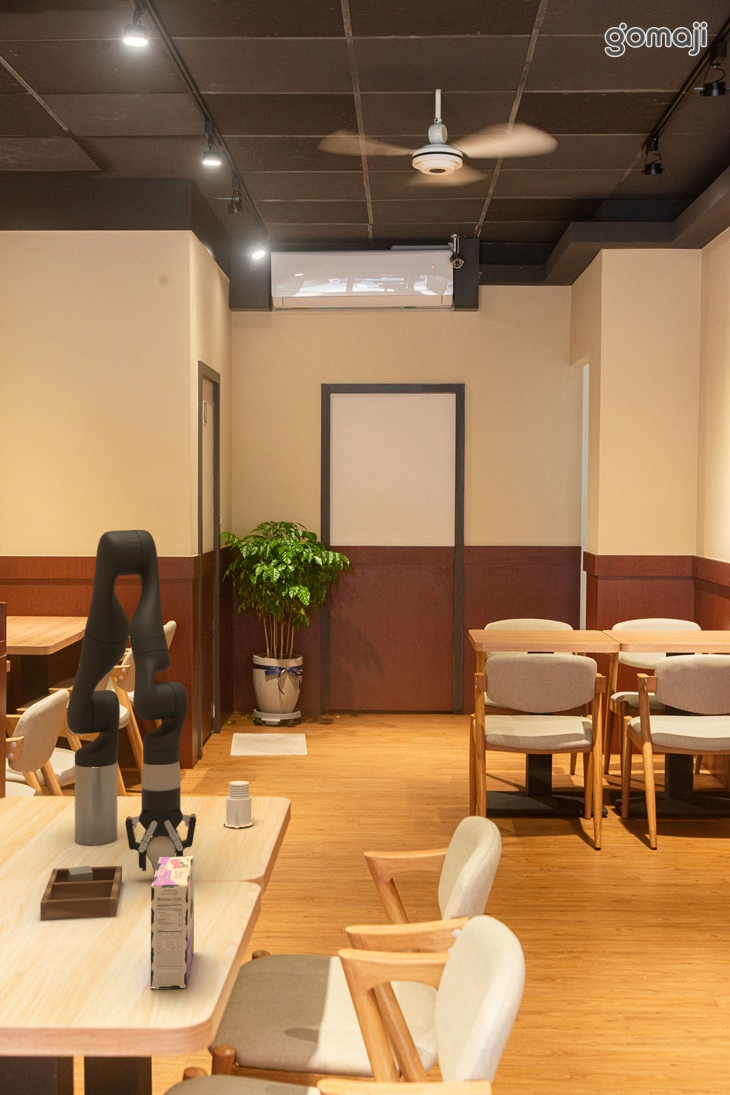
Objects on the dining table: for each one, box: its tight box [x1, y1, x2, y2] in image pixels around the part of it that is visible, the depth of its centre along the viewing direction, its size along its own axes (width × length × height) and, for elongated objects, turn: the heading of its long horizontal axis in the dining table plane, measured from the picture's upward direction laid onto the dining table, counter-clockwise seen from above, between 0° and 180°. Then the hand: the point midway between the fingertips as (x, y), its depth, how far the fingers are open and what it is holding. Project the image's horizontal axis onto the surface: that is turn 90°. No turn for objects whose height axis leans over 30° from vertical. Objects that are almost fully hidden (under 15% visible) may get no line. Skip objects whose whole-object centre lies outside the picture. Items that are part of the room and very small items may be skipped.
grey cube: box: [67, 865, 93, 882], centre depth 203 cm, size 4×4×4 cm
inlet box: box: [39, 865, 123, 921], centre depth 198 cm, size 18×13×4 cm
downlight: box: [225, 780, 252, 826], centre depth 250 cm, size 8×7×10 cm
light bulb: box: [145, 835, 176, 876], centre depth 209 cm, size 6×6×10 cm
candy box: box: [150, 855, 195, 989], centre depth 170 cm, size 14×6×16 cm, turn 5°
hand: (160, 868), depth 209 cm, fingers closed on light bulb, 6 cm apart
